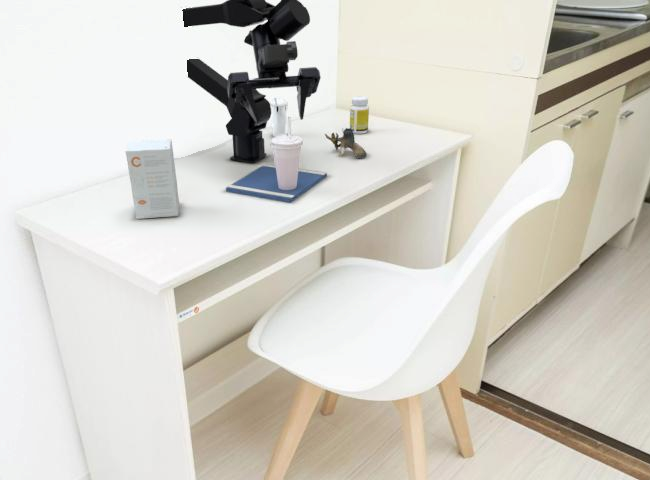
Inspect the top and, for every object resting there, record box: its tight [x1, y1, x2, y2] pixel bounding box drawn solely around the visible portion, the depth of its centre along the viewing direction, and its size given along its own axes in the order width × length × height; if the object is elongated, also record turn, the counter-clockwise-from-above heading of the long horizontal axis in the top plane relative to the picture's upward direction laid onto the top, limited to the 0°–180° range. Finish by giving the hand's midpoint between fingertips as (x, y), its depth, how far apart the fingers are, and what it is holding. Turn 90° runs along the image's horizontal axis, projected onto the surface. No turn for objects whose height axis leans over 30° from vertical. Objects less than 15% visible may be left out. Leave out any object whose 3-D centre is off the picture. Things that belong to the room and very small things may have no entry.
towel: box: [225, 163, 328, 204], centre depth 136 cm, size 15×17×1 cm
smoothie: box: [270, 116, 304, 190], centre depth 129 cm, size 6×6×14 cm
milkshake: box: [269, 97, 289, 138], centre depth 164 cm, size 4×5×10 cm
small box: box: [125, 138, 180, 220], centre depth 121 cm, size 8×6×13 cm
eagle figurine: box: [324, 127, 368, 160], centre depth 151 cm, size 8×7×9 cm
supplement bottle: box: [349, 95, 370, 135], centre depth 166 cm, size 5×5×8 cm
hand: (280, 120), depth 131 cm, fingers open, 9 cm apart
